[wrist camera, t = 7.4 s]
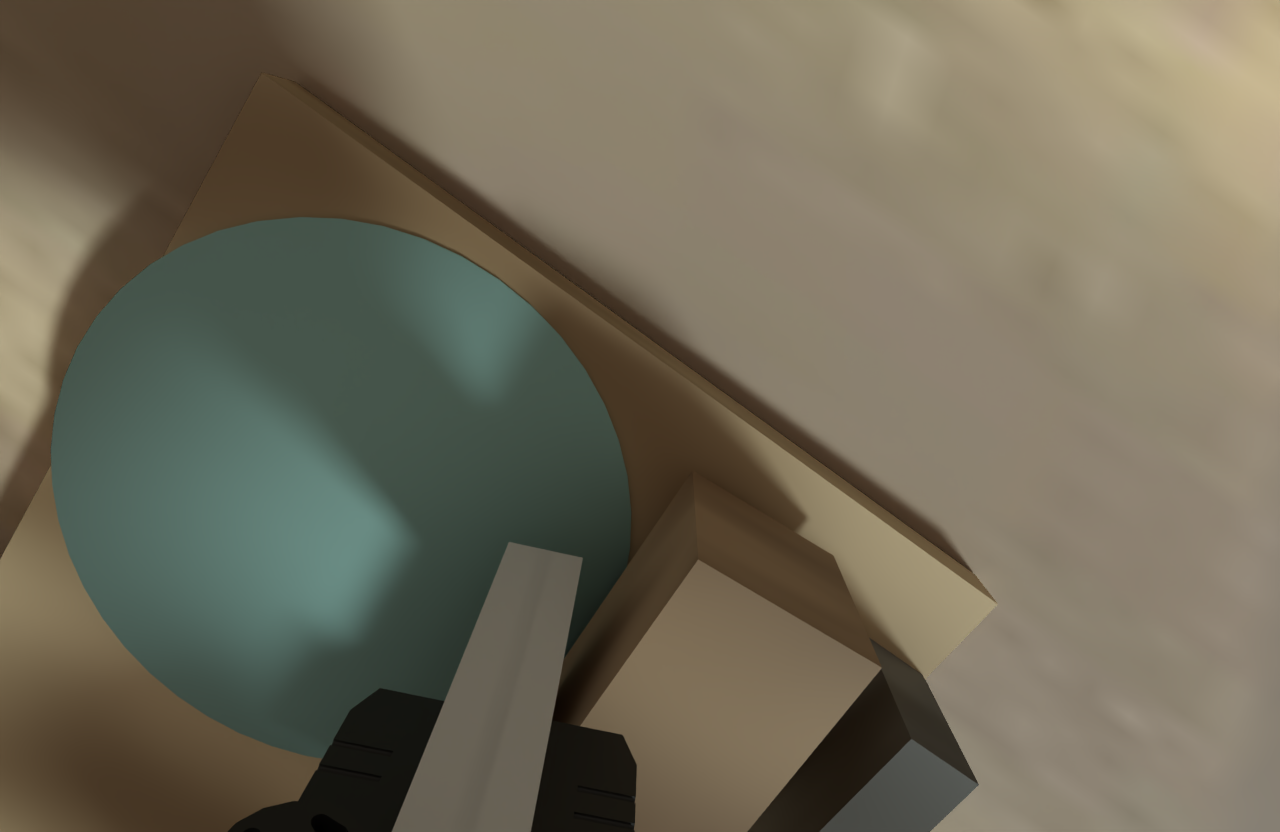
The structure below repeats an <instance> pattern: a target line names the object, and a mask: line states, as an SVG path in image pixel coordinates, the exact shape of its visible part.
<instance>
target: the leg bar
mask: <svg viewBox="0 0 1280 832" xmlns="http://www.w3.org/2000/svg"><path fill="white" fill-rule="evenodd" d="M881 668H882V666H881V664H880V662H879V659H878V657H877V655H876V653H875V650H874V648H873V646H872V643H871V641H870V639H869V636H868V634H867V632H866V629H865V627H864V625H863V622H862V620H861V618H860V616H859V613H858V611H857V609H856V606H855V604H854V602H853V599H852V597H851V595H850V592H849V590H848V588H847V585H846V583H845V581H844V579H843V576H842V574H841V572H840V569H839V567H838V565H837V562H836V560H835V558H834V555H832V554H830V553H829V552H827V551H825V550H824V549H822V548H820V547H819V546H817V545H815V544H814V543H812V542H810V541H809V540H807V539H805V538H804V537H802V536H800V535H799V534H797V533H795V532H794V531H792V530H790V529H789V528H787V527H785V526H784V525H782V524H780V523H779V522H777V521H775V520H774V519H772V518H771V517H769V516H767V515H766V514H764V513H762V512H761V511H759V510H757V509H756V508H754V507H752V506H751V505H749V504H747V503H746V502H744V501H742V500H741V499H739V498H737V497H736V496H734V495H732V494H731V493H729V492H727V491H726V490H724V489H722V488H721V487H719V486H717V485H716V484H714V483H713V482H711V481H709V480H708V479H706V478H704V477H703V476H701V475H699V474H698V473H696V472H694V471H692V472H691V473H690V475H689V476H688V478H687V479H686V481H685V482H684V484H683V485H682V487H681V488H680V490H679V491H678V493H677V494H676V495H675V497H674V498H673V500H672V501H671V503H670V504H669V506H668V507H667V509H666V510H665V512H664V513H663V515H662V516H661V517H660V519H659V520H658V522H657V523H656V525H655V526H654V528H653V529H652V531H651V532H650V534H649V535H648V536H647V538H646V539H645V541H644V542H643V544H642V545H641V547H640V548H639V550H638V551H637V553H636V554H635V556H634V557H633V558H632V560H631V561H630V563H629V564H628V566H627V567H626V569H625V570H624V572H623V573H622V575H621V576H620V578H619V579H618V580H617V582H616V583H615V585H614V586H613V588H612V589H611V591H610V592H609V594H608V595H607V597H606V598H605V599H604V601H603V602H602V604H601V605H600V607H599V608H598V610H597V611H596V613H595V614H594V616H593V617H592V619H591V620H590V621H589V623H588V624H587V626H586V627H585V629H584V630H583V632H582V633H581V635H580V636H579V638H578V639H577V641H576V642H575V643H574V645H573V646H572V648H571V649H570V651H569V652H568V654H567V655H566V657H565V658H564V660H563V665H562V670H561V675H560V681H559V686H558V691H557V696H556V702H555V707H554V712H553V717H552V721H557V722H562V723H567V724H572V725H577V726H582V727H587V728H592V729H597V730H602V731H607V732H611V733H616V734H621V735H623V736H624V738H625V741H626V743H627V745H628V747H629V749H630V751H631V753H632V756H633V758H634V760H635V762H636V764H637V777H636V798H635V803H636V808H635V826H634V830H635V832H747V831H748V830H749V829H750V828H751V827H752V825H753V824H754V823H755V822H756V821H757V819H758V818H759V817H760V816H761V814H762V813H763V812H764V811H765V810H766V808H767V807H768V806H769V805H770V803H771V802H772V801H773V800H774V799H775V797H776V796H777V795H778V794H779V793H780V791H781V790H782V789H783V788H784V786H785V785H786V784H787V783H788V782H789V780H790V779H791V778H792V777H793V776H794V774H795V773H796V772H797V771H798V769H799V768H800V767H801V766H802V765H803V763H804V762H805V761H806V760H807V758H808V757H809V756H810V755H811V754H812V752H813V751H814V750H815V749H816V748H817V746H818V745H819V744H820V743H821V741H822V740H823V739H824V738H825V737H826V735H827V734H828V733H829V732H830V731H831V729H832V728H833V727H834V726H835V724H836V723H837V722H838V721H839V720H840V718H841V717H842V716H843V715H844V713H845V712H846V711H847V710H848V709H849V707H850V706H851V705H852V704H853V703H854V701H855V700H856V699H857V698H858V696H859V695H860V694H861V693H862V692H863V690H864V689H865V688H866V687H867V686H868V684H869V683H870V682H871V681H872V679H873V678H874V677H875V676H876V675H877V673H878V672H879V671H880V670H881Z"/></svg>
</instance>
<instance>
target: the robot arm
mask: <svg viewBox="0 0 1280 832" xmlns="http://www.w3.org/2000/svg"><path fill="white" fill-rule="evenodd" d="M582 560H583V558H582V557H577V556H572V555H568V554H563V553H558V552H553V551H549V550H545V549H540V548H535V547H531V546H526V545H521V544H516V543H512V542H509V543H508V545H507V548H506V550H505V553H504V555H503V558H502V560H501V563H500V565H499V568H498V570H497V573H496V575H495V578H494V580H493V583H492V585H491V588H490V590H489V592H488V595H487V597H486V600H485V602H484V605H483V607H482V610H481V612H480V615H479V617H478V620H477V622H476V625H475V627H474V630H473V632H472V635H471V637H470V639H469V642H468V644H467V647H466V649H465V652H464V654H463V657H462V659H461V662H460V664H459V667H458V669H457V672H456V674H455V677H454V679H453V682H452V684H451V686H450V689H449V691H448V694H447V696H446V699H445V701H442V700H437V699H432V698H427V697H422V696H417V695H412V694H407V693H402V692H397V691H392V690H388V689H383V688H379V689H378V690H377V691H375V692H374V693H372V694H371V695H370V696H368V697H367V698H366V699H364V700H363V701H362V702H360V703H359V704H357V705H356V706H355V707H353V708H352V709H351V710H350V711H349V713H348V715H347V716H346V718H345V720H344V722H343V723H342V725H341V727H340V729H339V730H338V732H337V734H336V736H335V737H334V739H333V743H332V745H330V746H329V748H328V749H327V751H326V753H325V755H324V756H323V758H322V760H321V762H320V763H319V767H318V770H315V772H314V774H313V776H312V777H311V779H310V781H309V783H308V784H307V786H306V788H305V790H304V791H303V793H302V795H301V797H300V798H299V800H298V801H291V802H287V803H283V804H278V805H274V806H270V807H265V808H262V809H260V810H259V811H257V812H255V813H253V814H251V815H249V816H248V817H246V818H244V819H242V820H240V821H238V822H237V823H235V824H234V825H233V826H232V827H231V828H230V829H229V830H228V832H635V830H634V826H635V808H636V803H635V798H636V777H637V764H636V762H635V760H634V758H633V756H632V753H631V751H630V749H629V747H628V745H627V743H626V741H625V738H624V736H623V735H621V734H616V733H611V732H607V731H602V730H597V729H592V728H587V727H582V726H577V725H572V724H567V723H562V722H557V721H552V717H553V712H554V707H555V702H556V696H557V691H558V686H559V681H560V675H561V670H562V665H563V660H564V654H565V649H566V644H567V639H568V633H569V628H570V623H571V618H572V612H573V607H574V602H575V597H576V591H577V586H578V581H579V576H580V570H581V565H582Z"/></svg>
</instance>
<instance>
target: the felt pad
mask: <svg viewBox="0 0 1280 832" xmlns="http://www.w3.org/2000/svg"><path fill="white" fill-rule="evenodd" d="M51 468H52V487H53V493H54V499H55V504H56V510H57V516H58V521H59V524H60V527H61V531H62V534H63V537H64V540H65V543H66V547H67V550H68V553H69V556H70V558H71V560H72V562H73V565H74V567H75V569H76V571H77V573H78V576H79V578H80V580H81V582H82V584H83V587H84V588H85V590H86V592H87V593H88V595H89V597H90V598H91V600H92V602H93V603H94V605H95V607H96V608H97V610H98V612H99V613H100V615H101V617H102V618H103V620H104V621H105V622H106V623H107V625H108V626H109V627H110V629H111V630H112V631H113V633H114V634H115V635H116V636H117V638H118V639H119V640H120V642H121V643H122V644H123V646H124V647H125V648H126V649H127V650H128V651H129V652H130V653H131V654H132V655H133V656H134V657H135V658H136V659H137V660H138V661H139V662H140V663H141V665H142V666H143V667H144V668H145V669H146V670H147V671H148V672H149V673H150V674H151V675H153V676H154V677H155V678H156V679H157V680H159V681H160V682H161V683H162V684H163V685H165V686H166V687H167V688H168V689H169V690H171V691H172V692H173V693H174V694H175V695H177V696H178V697H179V698H181V699H182V700H184V701H185V702H187V703H188V704H190V705H191V706H193V707H194V708H196V709H197V710H199V711H200V712H202V713H203V714H205V715H206V716H208V717H210V718H212V719H213V720H215V721H217V722H219V723H221V724H223V725H225V726H227V727H229V728H230V729H232V730H234V731H236V732H238V733H240V734H243V735H245V736H248V737H250V738H253V739H255V740H258V741H260V742H263V743H265V744H268V745H270V746H273V747H276V748H280V749H283V750H287V751H290V752H294V753H297V754H301V755H305V756H310V757H315V758H321V759H322V758H323V756H324V755H325V753H326V751H327V749H328V748H329V746H330V745H332V743H333V739H334V737H335V736H336V734H337V732H338V730H339V729H340V727H341V725H342V723H343V722H344V720H345V718H346V716H347V715H348V713H349V711H350V710H351V709H352V708H353V707H355V706H356V705H357V704H359V703H360V702H362V701H363V700H364V699H366V698H367V697H368V696H370V695H371V694H372V693H374V692H375V691H377V690H378V689H379V688H383V689H388V690H392V691H397V692H402V693H407V694H412V695H417V696H422V697H427V698H432V699H437V700H442V701H445V699H446V696H447V694H448V691H449V689H450V686H451V684H452V682H453V679H454V677H455V674H456V672H457V669H458V667H459V664H460V662H461V659H462V657H463V654H464V652H465V649H466V647H467V644H468V642H469V639H470V637H471V635H472V632H473V630H474V627H475V625H476V622H477V620H478V617H479V615H480V612H481V610H482V607H483V605H484V602H485V600H486V597H487V595H488V592H489V590H490V588H491V585H492V583H493V580H494V578H495V575H496V573H497V570H498V568H499V565H500V563H501V560H502V558H503V555H504V553H505V550H506V548H507V545H508V543H509V542H512V543H516V544H521V545H526V546H531V547H535V548H540V549H545V550H549V551H553V552H558V553H563V554H568V555H572V556H577V557H582V558H583V560H582V565H581V570H580V576H579V581H578V586H577V591H576V597H575V602H574V607H573V612H572V618H571V623H570V628H569V633H568V639H567V644H566V649H565V654H564V658H565V657H566V655H567V654H568V652H569V651H570V649H571V648H572V646H573V645H574V643H575V642H576V641H577V639H578V638H579V636H580V635H581V633H582V632H583V630H584V629H585V627H586V626H587V624H588V623H589V621H590V620H591V619H592V617H593V616H594V614H595V613H596V611H597V610H598V608H599V607H600V605H601V604H602V602H603V601H604V599H605V598H606V597H607V595H608V594H609V592H610V591H611V589H612V588H613V586H614V585H615V583H616V582H617V580H618V579H619V578H620V576H621V575H622V573H623V572H624V570H625V569H626V567H627V563H628V557H629V552H630V536H631V504H630V494H629V485H628V476H627V472H626V468H625V464H624V460H623V455H622V451H621V447H620V443H619V439H618V437H617V434H616V432H615V429H614V427H613V424H612V422H611V419H610V417H609V414H608V412H607V409H606V406H605V404H604V402H603V400H602V399H601V397H600V395H599V393H598V391H597V390H596V388H595V386H594V384H593V382H592V381H591V379H590V377H589V375H588V373H587V371H586V370H585V368H584V367H583V365H582V364H581V363H580V361H579V360H578V359H577V357H576V356H575V355H574V353H573V352H572V351H571V349H570V348H569V346H568V345H567V344H566V342H565V341H564V340H563V338H562V337H561V336H560V335H559V334H558V333H557V332H556V331H555V330H554V328H553V327H552V326H551V325H550V324H549V323H548V322H547V321H546V320H545V319H544V318H543V317H542V316H541V315H540V314H539V313H538V312H537V311H536V310H535V309H534V307H533V306H531V305H530V304H529V303H528V302H527V301H525V300H524V299H523V298H522V297H520V296H519V295H518V294H517V293H515V292H514V291H513V290H512V289H511V288H509V287H508V286H507V285H506V284H504V283H503V282H502V281H501V280H499V279H498V278H496V277H495V276H493V275H492V274H490V273H488V272H487V271H485V270H484V269H482V268H480V267H479V266H477V265H476V264H474V263H472V262H471V261H469V260H468V259H466V258H464V257H463V256H460V255H458V254H456V253H454V252H452V251H450V250H447V249H445V248H443V247H441V246H439V245H437V244H434V243H432V242H430V241H428V240H426V239H423V238H420V237H417V236H414V235H410V234H407V233H404V232H401V231H398V230H395V229H391V228H388V227H385V226H380V225H375V224H369V223H363V222H358V221H352V220H346V219H337V218H312V217H295V218H285V219H275V220H264V221H256V222H252V223H248V224H244V225H239V226H235V227H231V228H227V229H223V230H219V231H216V232H214V233H211V234H209V235H206V236H204V237H202V238H199V239H197V240H194V241H192V242H189V243H187V244H184V245H182V246H180V247H179V248H177V249H175V250H174V251H172V252H170V253H169V254H167V255H165V256H164V257H162V258H160V259H159V260H157V261H155V262H154V263H152V264H150V265H149V266H148V267H146V268H145V269H144V270H143V271H142V272H140V273H139V274H138V275H137V276H136V277H134V278H133V279H132V280H131V281H130V282H128V283H127V284H126V285H125V286H124V287H122V288H121V289H120V290H119V291H118V292H117V294H116V295H115V296H114V297H113V298H112V299H111V301H110V302H109V303H108V304H107V305H106V306H105V307H104V309H103V310H102V311H101V312H100V313H99V314H98V315H97V317H96V318H95V320H94V321H93V323H92V325H91V326H90V328H89V329H88V331H87V332H86V334H85V336H84V337H83V339H82V340H81V342H80V344H79V345H78V347H77V349H76V351H75V354H74V356H73V358H72V361H71V363H70V365H69V368H68V370H67V372H66V375H65V377H64V379H63V383H62V387H61V391H60V395H59V399H58V403H57V406H56V410H55V414H54V424H53V433H52V443H51Z"/></svg>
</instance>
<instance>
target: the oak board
mask: <svg viewBox="0 0 1280 832" xmlns="http://www.w3.org/2000/svg"><path fill="white" fill-rule="evenodd" d="M295 217H312V218H337V219H346V220H352V221H358V222H363V223H369V224H375V225H380V226H385V227H388V228H391V229H395V230H398V231H401V232H404V233H407V234H410V235H414V236H417V237H420V238H423V239H426V240H428V241H430V242H432V243H434V244H437V245H439V246H441V247H443V248H445V249H447V250H450V251H452V252H454V253H456V254H458V255H460V256H463V257H464V258H466V259H468V260H469V261H471V262H472V263H474V264H476V265H477V266H479V267H480V268H482V269H484V270H485V271H487V272H488V273H490V274H492V275H493V276H495V277H496V278H498V279H499V280H501V281H502V282H503V283H504V284H506V285H507V286H508V287H509V288H511V289H512V290H513V291H514V292H515V293H517V294H518V295H519V296H520V297H522V298H523V299H524V300H525V301H527V302H528V303H529V304H530V305H531V306H533V307H534V309H535V310H536V311H537V312H538V313H539V314H540V315H541V316H542V317H543V318H544V319H545V320H546V321H547V322H548V323H549V324H550V325H551V326H552V327H553V328H554V330H555V331H556V332H557V333H558V334H559V335H560V336H561V337H562V338H563V340H564V341H565V342H566V344H567V345H568V346H569V348H570V349H571V351H572V352H573V353H574V355H575V356H576V357H577V359H578V360H579V361H580V363H581V364H582V365H583V367H584V368H585V370H586V371H587V373H588V375H589V377H590V379H591V381H592V382H593V384H594V386H595V388H596V390H597V391H598V393H599V395H600V397H601V399H602V400H603V402H604V404H605V406H606V409H607V412H608V414H609V417H610V419H611V422H612V424H613V427H614V429H615V432H616V434H617V437H618V439H619V443H620V447H621V451H622V455H623V460H624V464H625V468H626V472H627V476H628V485H629V494H630V504H631V536H630V552H629V557H628V563H627V566H628V564H629V563H630V561H631V560H632V558H633V557H634V556H635V554H636V553H637V551H638V550H639V548H640V547H641V545H642V544H643V542H644V541H645V539H646V538H647V536H648V535H649V534H650V532H651V531H652V529H653V528H654V526H655V525H656V523H657V522H658V520H659V519H660V517H661V516H662V515H663V513H664V512H665V510H666V509H667V507H668V506H669V504H670V503H671V501H672V500H673V498H674V497H675V495H676V494H677V493H678V491H679V490H680V488H681V487H682V485H683V484H684V482H685V481H686V479H687V478H688V476H689V475H690V473H691V472H692V471H694V472H696V473H698V474H699V475H701V476H703V477H704V478H706V479H708V480H709V481H711V482H713V483H714V484H716V485H717V486H719V487H721V488H722V489H724V490H726V491H727V492H729V493H731V494H732V495H734V496H736V497H737V498H739V499H741V500H742V501H744V502H746V503H747V504H749V505H751V506H752V507H754V508H756V509H757V510H759V511H761V512H762V513H764V514H766V515H767V516H769V517H771V518H772V519H774V520H775V521H777V522H779V523H780V524H782V525H784V526H785V527H787V528H789V529H790V530H792V531H794V532H795V533H797V534H799V535H800V536H802V537H804V538H805V539H807V540H809V541H810V542H812V543H814V544H815V545H817V546H819V547H820V548H822V549H824V550H825V551H827V552H829V553H830V554H832V555H834V558H835V560H836V562H837V565H838V567H839V569H840V572H841V574H842V576H843V579H844V581H845V583H846V585H847V588H848V590H849V592H850V595H851V597H852V599H853V602H854V604H855V606H856V609H857V611H858V613H859V616H860V618H861V620H862V622H863V625H864V627H865V629H866V632H867V634H868V636H869V639H870V641H871V643H872V646H873V648H874V650H875V653H876V655H877V657H878V659H879V662H880V664H881V666H882V668H881V670H880V671H879V672H878V673H877V675H876V676H875V677H874V678H873V679H872V681H871V682H870V683H869V684H868V686H867V687H866V688H865V689H864V690H863V692H862V693H861V694H860V695H859V696H858V698H857V699H856V700H855V701H854V703H853V704H852V705H851V706H850V707H849V709H848V710H847V711H846V712H845V713H844V715H843V716H842V717H841V718H840V720H839V721H838V722H837V723H836V724H835V726H834V727H833V728H832V729H831V731H830V732H829V733H828V734H827V735H826V737H825V738H824V739H823V740H822V741H821V743H820V744H819V745H818V746H817V748H816V749H815V750H814V751H813V752H812V754H811V755H810V756H809V757H808V758H807V760H806V761H805V762H804V763H803V765H802V766H801V767H800V768H799V769H798V771H797V772H796V773H795V774H794V776H793V777H792V778H791V779H790V780H789V782H788V783H787V784H786V785H785V786H784V788H783V789H782V790H781V791H780V793H779V794H778V795H777V796H776V797H775V799H774V800H773V801H772V802H771V803H770V805H769V806H768V807H767V808H766V810H765V811H764V812H763V813H762V814H761V816H760V817H759V818H758V819H757V821H756V822H755V823H754V824H753V825H752V827H751V828H750V829H749V830H748V831H747V832H930V831H931V830H932V829H933V828H934V827H935V826H936V825H937V824H938V823H939V822H940V821H942V820H943V819H944V818H945V817H946V816H947V815H948V814H949V813H950V812H951V811H952V810H953V809H954V808H955V807H956V806H957V805H958V804H959V803H960V802H961V801H962V800H963V799H964V798H966V797H967V796H968V795H969V794H970V793H971V792H972V791H973V790H974V789H975V788H976V787H977V786H978V785H979V784H978V782H977V780H976V778H975V776H974V774H973V772H972V770H971V769H970V767H969V765H968V763H967V761H966V759H965V757H964V755H963V753H962V751H961V749H960V747H959V745H958V743H957V741H956V739H955V737H954V735H953V733H952V731H951V729H950V727H949V725H948V723H947V721H946V719H945V717H944V716H943V714H942V712H941V710H940V708H939V706H938V704H937V702H936V700H935V698H934V696H933V694H932V692H931V690H930V688H929V686H928V684H927V682H926V680H925V679H926V678H927V677H928V676H929V675H930V674H931V673H932V672H933V671H934V669H935V668H936V667H937V666H938V665H939V664H940V663H941V662H942V661H943V660H944V659H945V658H946V657H947V656H948V655H949V654H950V653H951V652H952V651H953V650H954V649H955V648H956V647H957V646H958V645H959V644H960V643H961V642H962V641H963V640H964V639H965V638H966V637H967V636H968V635H969V633H970V632H971V631H972V630H973V629H974V628H975V627H976V626H977V625H978V624H979V623H980V622H981V621H982V620H983V619H984V618H985V617H986V616H987V615H988V614H989V613H990V612H991V611H992V610H993V609H994V608H995V607H996V606H997V605H998V604H997V602H996V601H995V600H994V599H993V597H992V596H991V595H990V593H989V592H988V591H987V589H986V588H985V587H984V586H983V584H982V583H981V582H980V580H979V579H978V578H977V577H976V575H975V574H973V573H972V572H971V571H969V570H968V569H966V568H965V567H964V566H962V565H961V564H960V563H958V562H957V561H955V560H954V559H953V558H951V557H950V556H948V555H947V554H946V553H944V552H943V551H942V550H940V549H939V548H937V547H936V546H935V545H933V544H932V543H931V542H929V541H928V540H926V539H925V538H924V537H922V536H921V535H920V534H918V533H917V532H915V531H914V530H913V529H911V528H910V527H908V526H907V525H906V524H904V523H903V522H902V521H900V520H899V519H897V518H896V517H895V516H893V515H892V514H891V513H889V512H888V511H886V510H885V509H884V508H882V507H881V506H880V505H878V504H877V503H875V502H874V501H873V500H871V499H870V498H868V497H867V496H866V495H864V494H863V493H862V492H860V491H859V490H857V489H856V488H855V487H853V486H852V485H851V484H849V483H848V482H846V481H845V480H844V479H842V478H841V477H839V476H838V475H837V474H835V473H834V472H833V471H831V470H830V469H828V468H827V467H826V466H824V465H823V464H822V463H820V462H819V461H817V460H816V459H815V458H813V457H812V456H811V455H809V454H808V453H806V452H805V451H804V450H802V449H801V448H799V447H798V446H797V445H795V444H794V443H793V442H791V441H790V440H788V439H787V438H786V437H784V436H783V435H782V434H780V433H779V432H777V431H776V430H775V429H773V428H772V427H771V426H769V425H768V424H766V423H765V422H764V421H762V420H761V419H759V418H758V417H757V416H755V415H754V414H753V413H751V412H750V411H748V410H747V409H746V408H744V407H743V406H742V405H740V404H739V403H737V402H736V401H735V400H733V399H732V398H731V397H729V396H728V395H726V394H725V393H724V392H722V391H721V390H719V389H718V388H717V387H715V386H714V385H713V384H711V383H710V382H708V381H707V380H706V379H704V378H703V377H702V376H700V375H699V374H697V373H696V372H695V371H693V370H692V369H691V368H689V367H688V366H686V365H685V364H684V363H682V362H681V361H679V360H678V359H677V358H675V357H674V356H673V355H671V354H670V353H668V352H667V351H666V350H664V349H663V348H662V347H660V346H659V345H657V344H656V343H655V342H653V341H652V340H650V339H649V338H648V337H646V336H645V335H644V334H642V333H641V332H639V331H638V330H637V329H635V328H634V327H633V326H631V325H630V324H628V323H627V322H626V321H624V320H623V319H622V318H620V317H619V316H617V315H616V314H615V313H613V312H612V311H610V310H609V309H608V308H606V307H605V306H604V305H602V304H601V303H599V302H598V301H597V300H595V299H594V298H593V297H591V296H590V295H588V294H587V293H586V292H584V291H583V290H582V289H580V288H579V287H577V286H576V285H575V284H573V283H572V282H570V281H569V280H568V279H566V278H565V277H564V276H562V275H561V274H559V273H558V272H557V271H555V270H554V269H553V268H551V267H550V266H548V265H547V264H546V263H544V262H543V261H542V260H540V259H539V258H537V257H536V256H535V255H533V254H532V253H530V252H529V251H528V250H526V249H525V248H524V247H522V246H521V245H519V244H518V243H517V242H515V241H514V240H513V239H511V238H510V237H508V236H507V235H506V234H504V233H503V232H501V231H500V230H499V229H497V228H496V227H495V226H493V225H492V224H490V223H489V222H488V221H486V220H485V219H484V218H482V217H481V216H479V215H478V214H477V213H475V212H474V211H473V210H471V209H470V208H468V207H467V206H466V205H464V204H463V203H461V202H460V201H459V200H457V199H456V198H455V197H453V196H452V195H450V194H449V193H448V192H446V191H445V190H444V189H442V188H441V187H439V186H438V185H437V184H435V183H434V182H433V181H431V180H430V179H428V178H427V177H426V176H424V175H423V174H421V173H420V172H419V171H417V170H416V169H415V168H413V167H412V166H410V165H409V164H408V163H406V162H405V161H404V160H402V159H401V158H399V157H398V156H397V155H395V154H394V153H393V152H391V151H390V150H388V149H387V148H386V147H384V146H383V145H381V144H380V143H379V142H377V141H376V140H375V139H373V138H372V137H370V136H369V135H368V134H366V133H365V132H364V131H362V130H361V129H359V128H358V127H357V126H355V125H354V124H352V123H351V122H350V121H348V120H347V119H346V118H344V117H343V116H341V115H340V114H339V113H337V112H336V111H335V110H333V109H332V108H330V107H329V106H328V105H326V104H325V103H324V102H322V101H321V100H319V99H318V98H317V97H315V96H314V95H312V94H311V93H310V92H308V91H307V90H306V89H304V88H303V87H301V86H300V85H299V84H297V83H296V82H294V81H291V80H287V79H283V78H280V77H276V76H273V75H269V74H265V73H262V72H261V74H260V76H259V78H258V80H257V82H256V83H255V85H254V87H253V89H252V91H251V93H250V95H249V97H248V98H247V100H246V102H245V104H244V106H243V108H242V110H241V111H240V113H239V115H238V117H237V119H236V121H235V123H234V125H233V126H232V128H231V130H230V132H229V134H228V136H227V138H226V139H225V141H224V143H223V145H222V147H221V149H220V151H219V152H218V154H217V156H216V158H215V160H214V162H213V164H212V166H211V167H210V169H209V171H208V173H207V175H206V177H205V179H204V180H203V182H202V184H201V186H200V188H199V190H198V192H197V193H196V195H195V197H194V199H193V201H192V203H191V205H190V207H189V208H188V210H187V212H186V214H185V216H184V218H183V220H182V221H181V223H180V225H179V227H178V229H177V231H176V233H175V234H174V236H173V238H172V240H171V242H170V244H169V246H168V248H167V249H166V251H165V253H164V255H163V257H164V256H165V255H167V254H169V253H170V252H172V251H174V250H175V249H177V248H179V247H180V246H182V245H184V244H187V243H189V242H192V241H194V240H197V239H199V238H202V237H204V236H206V235H209V234H211V233H214V232H216V231H219V230H223V229H227V228H231V227H235V226H239V225H244V224H248V223H252V222H256V221H264V220H275V219H285V218H295ZM321 760H322V759H321V758H315V757H310V756H305V755H301V754H297V753H294V752H290V751H287V750H283V749H280V748H276V747H273V746H270V745H268V744H265V743H263V742H260V741H258V740H255V739H253V738H250V737H248V736H245V735H243V734H240V733H238V732H236V731H234V730H232V729H230V728H229V727H227V726H225V725H223V724H221V723H219V722H217V721H215V720H213V719H212V718H210V717H208V716H206V715H205V714H203V713H202V712H200V711H199V710H197V709H196V708H194V707H193V706H191V705H190V704H188V703H187V702H185V701H184V700H182V699H181V698H179V697H178V696H177V695H175V694H174V693H173V692H172V691H171V690H169V689H168V688H167V687H166V686H165V685H163V684H162V683H161V682H160V681H159V680H157V679H156V678H155V677H154V676H153V675H151V674H150V673H149V672H148V671H147V670H146V669H145V668H144V667H143V666H142V665H141V663H140V662H139V661H138V660H137V659H136V658H135V657H134V656H133V655H132V654H131V653H130V652H129V651H128V650H127V649H126V648H125V647H124V646H123V644H122V643H121V642H120V640H119V639H118V638H117V636H116V635H115V634H114V633H113V631H112V630H111V629H110V627H109V626H108V625H107V623H106V622H105V621H104V620H103V618H102V617H101V615H100V613H99V612H98V610H97V608H96V607H95V605H94V603H93V602H92V600H91V598H90V597H89V595H88V593H87V592H86V590H85V588H84V587H83V584H82V582H81V580H80V578H79V576H78V573H77V571H76V569H75V567H74V565H73V562H72V560H71V558H70V556H69V553H68V550H67V547H66V543H65V540H64V537H63V534H62V531H61V527H60V524H59V521H58V516H57V510H56V504H55V499H54V493H53V487H52V468H51V466H50V467H49V469H48V471H47V473H46V475H45V477H44V479H43V481H42V482H41V484H40V486H39V488H38V490H37V492H36V494H35V495H34V497H33V499H32V501H31V503H30V505H29V507H28V509H27V510H26V512H25V514H24V516H23V518H22V520H21V522H20V523H19V525H18V527H17V529H16V531H15V533H14V535H13V536H12V538H11V540H10V542H9V544H8V546H7V548H6V550H5V551H4V553H3V555H2V557H1V559H0V832H228V830H229V829H230V828H231V827H232V826H233V825H234V824H235V823H237V822H238V821H240V820H242V819H244V818H246V817H248V816H249V815H251V814H253V813H255V812H257V811H259V810H260V809H262V808H265V807H270V806H274V805H278V804H283V803H287V802H291V801H298V800H299V798H300V797H301V795H302V793H303V791H304V790H305V788H306V786H307V784H308V783H309V781H310V779H311V777H312V776H313V774H314V772H315V770H318V767H319V763H320V762H321Z"/></svg>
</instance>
